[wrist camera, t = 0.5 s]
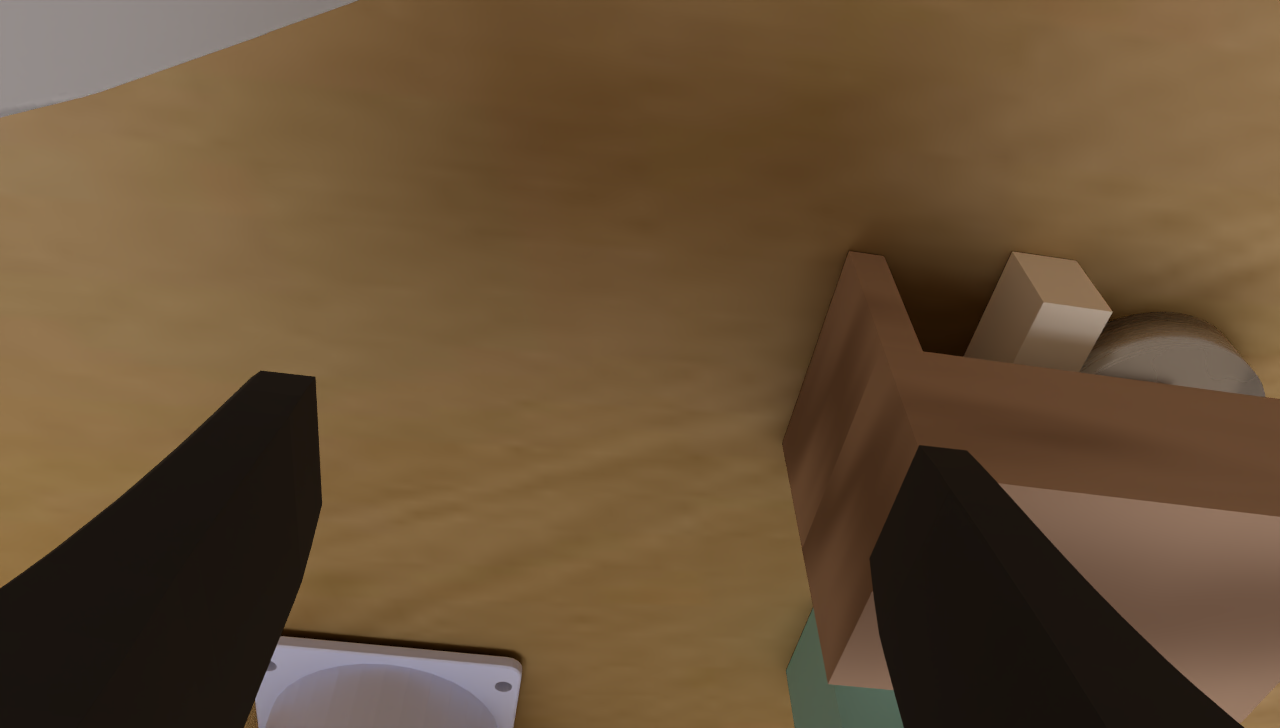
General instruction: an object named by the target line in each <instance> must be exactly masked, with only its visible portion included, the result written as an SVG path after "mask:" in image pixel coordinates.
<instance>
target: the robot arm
mask: <svg viewBox="0 0 1280 728" xmlns="http://www.w3.org/2000/svg"><path fill="white" fill-rule="evenodd" d="M321 506H322V494H321V475H320V455H319V436H318V417H317V398H316V379H315V377H312V376H303V375H294V374H285V373H277V372H268V371H260V372H258V373H257V374H256V375H254V376H253V377H251V378H250V379H249V380H248V381H247V382H246V383H245V384H244V385H243V386H242V387H241V388H240V389H239V390H238V391H237V392H236V393H235V394H234V395H232V396H231V397H230V398H229V399H228V400H227V401H226V402H225V403H224V404H223V405H222V406H221V407H220V408H219V409H218V410H217V411H216V412H215V413H214V414H213V415H212V416H210V417H209V418H208V419H207V420H206V421H205V422H204V423H203V424H202V425H201V426H200V427H199V428H198V429H197V430H196V431H194V432H193V433H192V434H191V435H190V436H189V437H188V438H187V439H186V440H185V441H184V442H183V443H181V444H180V445H179V446H178V447H177V448H176V449H175V450H174V451H173V452H171V453H170V454H169V455H168V456H167V457H166V458H165V459H163V460H162V461H161V462H160V463H159V464H158V465H157V466H155V467H154V468H153V469H152V470H151V471H150V472H149V473H147V474H146V475H145V476H144V477H143V478H142V479H141V480H139V481H138V482H137V483H136V484H135V485H134V486H133V487H131V488H130V489H129V490H128V491H127V492H126V493H124V494H123V495H122V496H121V497H120V498H118V499H117V500H116V501H115V502H114V503H112V504H111V505H110V506H108V507H107V508H106V509H105V510H103V511H102V512H101V513H100V514H98V515H97V516H96V517H95V518H93V519H92V520H91V521H90V522H88V523H87V524H86V525H85V526H83V527H82V528H81V529H79V530H78V531H77V532H76V533H74V534H73V535H72V536H71V537H69V538H68V539H67V540H66V541H64V542H63V543H62V544H61V545H59V546H58V547H57V548H55V549H54V550H53V551H51V552H50V553H49V554H47V555H46V556H45V557H43V558H42V559H41V560H39V561H38V562H36V563H35V564H34V565H32V566H31V567H30V568H28V569H27V570H26V571H24V572H23V573H21V574H20V575H19V576H17V577H16V578H14V579H13V580H11V581H10V582H9V583H7V584H6V585H4V586H3V587H1V588H0V728H244V726H245V723H246V721H247V718H248V716H249V713H250V711H251V708H252V706H253V703H254V701H255V703H256V712H257V720H258V728H513V727H514V721H515V714H516V708H517V702H518V696H519V689H520V683H521V676H522V665H521V664H520V662H519V661H517V660H515V659H514V658H510V657H502V656H492V655H481V654H470V653H459V652H449V651H438V650H427V649H416V648H405V647H395V646H384V645H373V644H362V643H352V642H341V641H330V640H319V639H309V638H298V637H287V636H281V633H282V631H283V628H284V626H285V623H286V621H287V618H288V616H289V613H290V611H291V608H292V606H293V603H294V601H295V598H296V595H297V593H298V590H299V588H300V585H301V582H302V579H303V575H304V572H305V568H306V564H307V560H308V557H309V553H310V549H311V546H312V542H313V538H314V534H315V530H316V526H317V522H318V518H319V514H320V510H321ZM869 561H870V569H871V578H872V587H873V595H874V603H875V610H876V617H877V624H878V630H879V636H880V640H881V644H882V648H883V652H884V656H885V660H886V663H887V667H888V671H889V675H890V679H891V682H892V686H893V690H894V694H895V697H896V701H897V705H898V708H899V712H900V716H901V719H902V723H903V727H904V728H1244V727H1243V726H1242V725H1240V724H1239V723H1238V722H1237V721H1236V720H1235V719H1233V718H1232V717H1231V716H1230V715H1229V714H1228V713H1226V712H1225V711H1224V710H1223V709H1222V708H1221V707H1219V706H1218V705H1217V704H1216V703H1215V702H1214V701H1212V700H1211V699H1210V698H1209V697H1208V696H1207V695H1205V694H1204V693H1203V692H1202V691H1201V690H1200V689H1198V688H1197V687H1196V686H1195V685H1194V684H1193V683H1192V682H1190V681H1189V680H1188V679H1187V678H1186V677H1185V676H1184V675H1183V674H1182V673H1181V672H1179V671H1178V670H1177V669H1176V668H1175V667H1174V666H1173V665H1172V664H1171V663H1170V662H1168V661H1167V660H1166V659H1165V658H1164V657H1163V656H1162V655H1161V654H1160V653H1159V652H1158V651H1157V650H1156V649H1155V648H1154V647H1153V646H1152V645H1151V644H1150V643H1149V642H1148V641H1147V640H1146V639H1145V638H1144V637H1143V636H1142V635H1140V634H1139V633H1138V632H1137V631H1136V630H1135V629H1134V628H1133V627H1132V626H1131V625H1130V624H1129V623H1128V622H1127V621H1126V620H1125V619H1124V618H1123V617H1122V616H1121V615H1120V614H1119V613H1118V612H1117V611H1116V610H1115V609H1114V608H1113V607H1112V606H1111V605H1110V604H1109V603H1108V602H1107V601H1106V600H1105V599H1104V598H1103V597H1102V596H1101V595H1100V594H1099V593H1098V592H1097V591H1096V589H1095V588H1094V587H1093V586H1092V585H1091V584H1090V583H1089V582H1088V581H1087V580H1086V579H1085V578H1084V577H1083V576H1082V575H1081V574H1080V573H1079V572H1078V571H1077V569H1076V568H1075V567H1074V566H1073V565H1072V564H1071V563H1070V562H1069V561H1068V560H1067V559H1066V558H1065V557H1064V555H1063V554H1062V553H1061V552H1060V551H1059V550H1058V549H1057V548H1056V547H1055V546H1054V545H1053V543H1052V542H1051V541H1050V540H1049V539H1048V538H1047V537H1046V536H1045V535H1044V534H1043V533H1042V531H1041V530H1040V529H1039V528H1038V527H1037V526H1036V525H1035V524H1034V523H1033V521H1032V520H1031V519H1030V518H1029V517H1028V516H1027V515H1026V514H1025V513H1024V511H1023V510H1022V509H1021V508H1020V507H1019V506H1018V505H1017V504H1016V503H1015V501H1014V500H1013V499H1012V498H1011V497H1010V496H1009V495H1008V494H1007V493H1006V491H1005V490H1004V489H1003V488H1002V487H1001V486H1000V485H999V484H998V483H997V481H996V480H995V479H994V478H993V477H992V476H991V475H990V474H989V473H988V472H987V471H986V470H985V468H984V467H983V466H982V465H981V464H980V463H979V462H978V461H977V460H976V459H975V458H974V457H973V456H972V455H971V454H970V453H969V452H968V451H967V450H959V449H950V448H941V447H933V446H924V445H919V446H918V449H917V451H916V453H915V456H914V458H913V460H912V462H911V465H910V467H909V469H908V471H907V474H906V476H905V478H904V481H903V483H902V485H901V487H900V490H899V492H898V494H897V496H896V499H895V501H894V503H893V506H892V508H891V510H890V512H889V515H888V517H887V519H886V522H885V524H884V526H883V528H882V531H881V533H880V535H879V537H878V540H877V542H876V544H875V547H874V549H873V551H872V553H871V556H870V558H869Z"/></svg>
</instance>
